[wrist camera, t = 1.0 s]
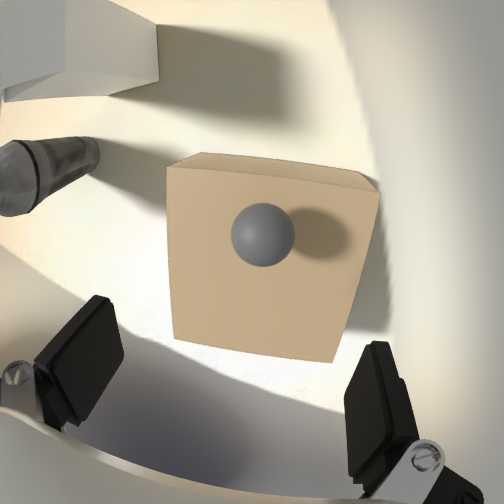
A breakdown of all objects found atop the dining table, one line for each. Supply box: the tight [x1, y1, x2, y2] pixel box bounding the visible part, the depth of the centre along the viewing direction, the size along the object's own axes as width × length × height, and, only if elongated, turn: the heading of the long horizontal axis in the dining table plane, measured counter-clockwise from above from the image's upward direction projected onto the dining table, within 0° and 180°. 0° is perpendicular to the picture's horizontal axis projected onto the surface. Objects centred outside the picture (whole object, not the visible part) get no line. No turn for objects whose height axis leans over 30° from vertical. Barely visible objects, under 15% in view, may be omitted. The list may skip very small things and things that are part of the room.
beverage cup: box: [0, 136, 99, 217], centre depth 22 cm, size 7×7×20 cm
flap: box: [166, 166, 381, 363], centre depth 22 cm, size 17×16×6 cm
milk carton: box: [0, 0, 159, 103], centre depth 17 cm, size 7×7×19 cm
